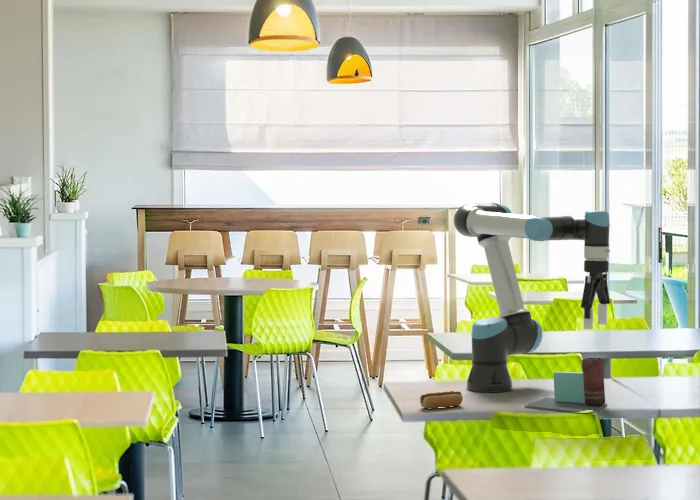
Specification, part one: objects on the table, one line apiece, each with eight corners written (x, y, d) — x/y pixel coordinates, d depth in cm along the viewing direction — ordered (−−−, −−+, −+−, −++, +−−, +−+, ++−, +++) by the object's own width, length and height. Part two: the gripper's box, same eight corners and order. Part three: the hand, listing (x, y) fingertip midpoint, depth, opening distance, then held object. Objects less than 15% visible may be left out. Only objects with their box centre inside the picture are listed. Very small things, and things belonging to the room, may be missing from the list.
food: (425, 411, 322) (425, 395, 322) (417, 408, 327) (417, 392, 327) (465, 407, 328) (465, 391, 327) (456, 404, 333) (456, 388, 332)
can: (581, 403, 328) (578, 358, 329) (601, 402, 329) (598, 356, 329) (587, 406, 322) (585, 359, 322) (608, 404, 323) (605, 358, 323)
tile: (554, 401, 332) (553, 372, 332) (557, 400, 334) (556, 371, 334) (585, 402, 326) (584, 373, 326) (588, 401, 328) (586, 372, 328)
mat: (524, 407, 326) (524, 405, 326) (546, 399, 339) (546, 397, 339) (587, 414, 314) (587, 412, 314) (606, 405, 328) (606, 403, 328)
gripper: (594, 262, 324) (593, 331, 325) (620, 257, 345) (619, 323, 347) (571, 261, 328) (570, 330, 329) (597, 257, 349) (596, 321, 351)
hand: (595, 326), depth 338 cm, fingers open, 13 cm apart
